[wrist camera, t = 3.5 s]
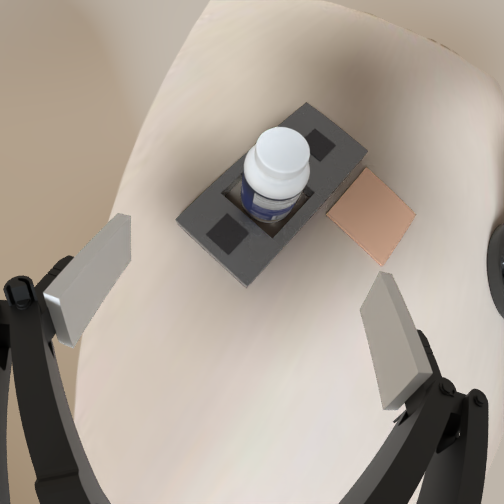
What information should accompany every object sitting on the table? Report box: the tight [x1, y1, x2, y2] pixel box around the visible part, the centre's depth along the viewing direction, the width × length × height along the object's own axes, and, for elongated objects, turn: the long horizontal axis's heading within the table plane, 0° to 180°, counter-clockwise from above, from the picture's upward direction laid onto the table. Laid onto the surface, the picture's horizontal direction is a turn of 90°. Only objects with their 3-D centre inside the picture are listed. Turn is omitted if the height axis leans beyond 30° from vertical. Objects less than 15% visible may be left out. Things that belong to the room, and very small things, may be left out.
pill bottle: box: [241, 127, 310, 223], centre depth 26 cm, size 5×5×10 cm
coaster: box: [326, 167, 416, 266], centre depth 31 cm, size 8×8×1 cm
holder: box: [175, 103, 368, 288], centre depth 30 cm, size 20×9×2 cm, turn 138°
